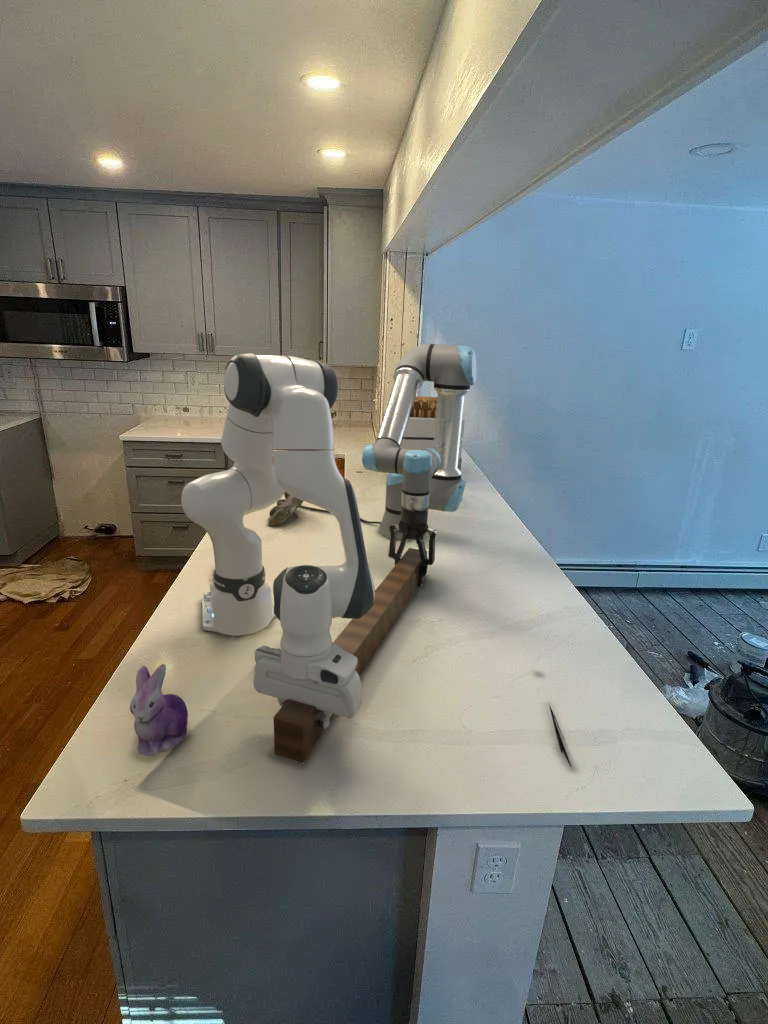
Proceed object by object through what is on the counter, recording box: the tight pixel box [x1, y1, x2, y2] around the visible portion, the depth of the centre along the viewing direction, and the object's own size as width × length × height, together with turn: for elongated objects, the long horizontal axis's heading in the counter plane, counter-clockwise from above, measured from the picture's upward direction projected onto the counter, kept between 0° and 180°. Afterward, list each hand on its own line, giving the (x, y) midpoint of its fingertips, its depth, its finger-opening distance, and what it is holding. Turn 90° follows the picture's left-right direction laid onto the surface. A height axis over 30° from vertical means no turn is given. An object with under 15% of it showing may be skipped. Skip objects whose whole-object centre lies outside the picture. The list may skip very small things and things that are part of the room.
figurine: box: [129, 663, 189, 757], centre depth 99 cm, size 9×10×15 cm
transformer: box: [400, 395, 465, 473], centre depth 268 cm, size 34×33×41 cm
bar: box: [272, 547, 428, 764], centre depth 133 cm, size 80×6×8 cm, turn 161°
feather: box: [548, 702, 572, 767], centre depth 112 cm, size 2×28×2 cm
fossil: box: [267, 491, 305, 527], centre depth 209 cm, size 22×10×15 cm
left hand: (306, 720), depth 104 cm, fingers closed on bar, 6 cm apart
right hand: (409, 582), depth 164 cm, fingers closed on bar, 6 cm apart
